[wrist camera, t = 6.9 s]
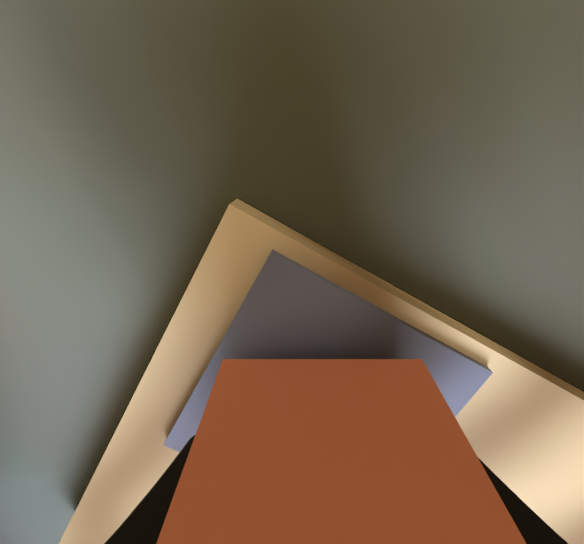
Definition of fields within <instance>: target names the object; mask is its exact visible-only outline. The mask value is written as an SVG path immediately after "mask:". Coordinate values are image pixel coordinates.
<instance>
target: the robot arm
mask: <svg viewBox="0 0 584 544" xmlns="http://www.w3.org/2000/svg"><path fill="white" fill-rule="evenodd" d="M194 438H195V435H194V436H193V437H191V438H190V439H189V441H188V442H187V443H186V445H185V446H184V447H183V449H182V450H181V451H180V453H179V454H178V455H177V456H176V458H175V459H174V460H173V462H172V463H171V464H170V466H169V467H168V468H167V469H166V471H165V472H164V473H163V475H162V476H161V477H160V478H159V480H158V481H157V482H156V483H155V485H154V486H153V487H152V488H151V490H150V491H149V492H148V493H147V494H146V496H145V497H144V498H143V499H142V500H141V502H140V503H139V504H138V505H137V506H136V508H135V509H134V510H133V511H132V513H131V514H130V515H129V516H128V517H127V519H126V520H125V521H124V522H123V523H122V524H121V526H120V527H119V528H118V529H117V530H116V531H115V532H114V533H113V534H112V536H111V537H110V538H109V539H108V540H107V541H106V542H105V543H104V544H156V543H157V541H158V538H159V535H160V532H161V529H162V527H163V524H164V521H165V518H166V516H167V513H168V510H169V507H170V504H171V502H172V499H173V496H174V493H175V490H176V488H177V485H178V482H179V479H180V477H181V474H182V471H183V468H184V465H185V463H186V460H187V457H188V454H189V452H190V449H191V446H192V443H193V440H194ZM478 459H479V458H478ZM479 461H480V462H481V464H482V466H483V468H484V469H485V471H486V473H487V475H488V476H489V478H490V480H491V482H492V484H493V485H494V487H495V489H496V491H497V492H498V494H499V496H500V498H501V500H502V501H503V503H504V505H505V507H506V508H507V510H508V512H509V514H510V515H511V517H512V519H513V521H514V523H515V524H516V526H517V528H518V530H519V531H520V533H521V535H522V537H523V538H524V540H525V542H526V544H568V543H567V542H566V541H565V540H564V539H563V538H562V537H561V536H559V535H558V534H557V533H556V532H555V531H554V530H553V529H552V528H551V527H550V526H549V525H547V524H546V523H545V522H544V521H543V520H542V519H541V518H540V517H539V516H538V515H537V514H536V513H535V512H534V511H533V510H531V509H530V508H529V507H528V506H527V505H526V504H525V503H524V502H523V501H522V500H521V499H520V498H519V497H518V496H517V495H516V494H515V493H514V492H513V491H512V490H511V489H510V488H509V487H508V486H507V485H506V484H505V483H504V482H503V481H501V480H500V479H499V478H498V477H497V476H496V475H495V474H494V473H493V472H492V471H491V470H490V469H489V468H488V467H487V466H486V465H485V464H484V463H483V462H482V461H481V460H480V459H479Z"/></svg>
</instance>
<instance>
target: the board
mask: <svg viewBox="0 0 584 544" xmlns="http://www.w3.org/2000/svg"><path fill="white" fill-rule="evenodd" d="M223 359H422V360H423V361H424V363H425V365H426V367H427V369H428V370H429V372H430V374H431V376H432V377H433V379H434V381H435V383H436V384H437V386H438V388H439V390H440V392H441V393H442V395H443V397H444V399H445V400H446V402H447V404H448V406H449V407H450V409H451V411H452V413H453V415H454V416H455V418H456V420H457V422H458V423H459V425H460V427H461V429H462V430H463V432H464V434H465V436H466V438H467V439H468V441H469V443H470V445H471V446H472V448H473V450H474V452H475V453H476V455H477V457H478V458H479V459H480V460H481V461H482V462H483V463H484V464H485V465H486V466H487V467H488V468H489V469H490V470H491V471H492V472H493V473H494V474H495V475H496V476H497V477H498V478H499V479H500V480H501V481H503V482H504V483H505V484H506V485H507V486H508V487H509V488H510V489H511V490H512V491H513V492H514V493H515V494H516V495H517V496H518V497H519V498H520V499H521V500H522V501H523V502H524V503H525V504H526V505H527V506H528V507H529V508H530V509H531V510H533V511H534V512H535V513H536V514H537V515H538V516H539V517H540V518H541V519H542V520H543V521H544V522H545V523H546V524H547V525H549V526H550V527H551V528H552V529H553V530H554V531H555V532H556V533H557V534H558V535H559V536H561V537H562V538H563V539H564V540H565V541H566V542H567V543H568V544H584V392H583V391H581V390H579V389H577V388H576V387H574V386H572V385H570V384H568V383H567V382H565V381H563V380H561V379H559V378H558V377H556V376H554V375H552V374H551V373H549V372H547V371H545V370H543V369H542V368H540V367H538V366H536V365H534V364H533V363H531V362H529V361H527V360H525V359H524V358H522V357H520V356H518V355H517V354H515V353H513V352H511V351H509V350H508V349H506V348H504V347H502V346H500V345H499V344H497V343H495V342H493V341H491V340H490V339H488V338H486V337H484V336H482V335H481V334H479V333H477V332H475V331H474V330H472V329H470V328H468V327H466V326H465V325H463V324H461V323H459V322H457V321H456V320H454V319H452V318H450V317H448V316H447V315H445V314H443V313H441V312H440V311H438V310H436V309H434V308H432V307H431V306H429V305H427V304H425V303H423V302H422V301H420V300H418V299H416V298H414V297H413V296H411V295H409V294H407V293H406V292H404V291H402V290H400V289H398V288H397V287H395V286H393V285H391V284H389V283H388V282H386V281H384V280H382V279H380V278H379V277H377V276H375V275H373V274H371V273H370V272H368V271H366V270H364V269H363V268H361V267H359V266H357V265H355V264H354V263H352V262H350V261H348V260H346V259H345V258H343V257H341V256H339V255H337V254H336V253H334V252H332V251H330V250H329V249H327V248H325V247H323V246H321V245H320V244H318V243H316V242H314V241H312V240H311V239H309V238H307V237H305V236H303V235H302V234H300V233H298V232H296V231H294V230H293V229H291V228H289V227H287V226H286V225H284V224H282V223H280V222H278V221H277V220H275V219H273V218H271V217H269V216H268V215H266V214H264V213H262V212H260V211H259V210H257V209H255V208H253V207H252V206H250V205H248V204H246V203H244V202H243V201H241V200H239V199H236V200H234V201H233V202H231V203H230V204H229V206H228V208H227V210H226V212H225V214H224V216H223V218H222V220H221V222H220V224H219V226H218V228H217V230H216V232H215V234H214V236H213V238H212V240H211V242H210V244H209V246H208V248H207V250H206V252H205V254H204V256H203V258H202V260H201V262H200V263H199V265H198V267H197V269H196V271H195V273H194V275H193V277H192V279H191V281H190V283H189V285H188V287H187V289H186V291H185V293H184V295H183V297H182V299H181V301H180V303H179V305H178V307H177V309H176V311H175V313H174V315H173V317H172V319H171V321H170V323H169V325H168V327H167V329H166V331H165V333H164V335H163V337H162V339H161V341H160V343H159V345H158V347H157V349H156V351H155V353H154V355H153V357H152V359H151V361H150V363H149V365H148V367H147V369H146V371H145V373H144V375H143V377H142V379H141V381H140V383H139V385H138V387H137V389H136V391H135V393H134V395H133V397H132V399H131V401H130V403H129V405H128V407H127V409H126V411H125V413H124V415H123V417H122V419H121V421H120V423H119V425H118V427H117V429H116V431H115V433H114V435H113V437H112V439H111V441H110V443H109V445H108V447H107V449H106V451H105V453H104V455H103V457H102V459H101V461H100V463H99V465H98V467H97V469H96V471H95V473H94V475H93V477H92V479H91V481H90V483H89V485H88V487H87V489H86V491H85V493H84V495H83V497H82V499H81V501H80V503H79V505H78V507H77V509H76V511H75V513H74V515H73V517H72V519H71V521H70V523H69V525H68V527H67V529H66V531H65V533H64V535H63V537H62V539H61V540H60V542H59V544H104V543H105V542H106V541H107V540H108V539H109V538H110V537H111V536H112V534H113V533H114V532H115V531H116V530H117V529H118V528H119V527H120V526H121V524H122V523H123V522H124V521H125V520H126V519H127V517H128V516H129V515H130V514H131V513H132V511H133V510H134V509H135V508H136V506H137V505H138V504H139V503H140V502H141V500H142V499H143V498H144V497H145V496H146V494H147V493H148V492H149V491H150V490H151V488H152V487H153V486H154V485H155V483H156V482H157V481H158V480H159V478H160V477H161V476H162V475H163V473H164V472H165V471H166V469H167V468H168V467H169V466H170V464H171V463H172V462H173V460H174V459H175V458H176V456H177V455H178V454H179V453H180V451H181V450H182V449H183V447H184V446H185V445H186V443H187V442H188V441H189V439H190V438H191V437H193V436H194V435H196V432H197V429H198V427H199V424H200V421H201V418H202V415H203V413H204V410H205V407H206V404H207V401H208V399H209V396H210V393H211V390H212V388H213V385H214V382H215V379H216V376H217V374H218V371H219V368H220V365H221V363H222V360H223Z"/></svg>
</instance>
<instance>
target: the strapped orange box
mask: <svg viewBox="0 0 584 544" xmlns="http://www.w3.org/2000/svg"><path fill="white" fill-rule="evenodd" d="M156 544H526V542H525V540H524V538H523V537H522V535H521V533H520V531H519V530H518V528H517V526H516V524H515V523H514V521H513V519H512V517H511V515H510V514H509V512H508V510H507V508H506V507H505V505H504V503H503V501H502V500H501V498H500V496H499V494H498V492H497V491H496V489H495V487H494V485H493V484H492V482H491V480H490V478H489V476H488V475H487V473H486V471H485V469H484V468H483V466H482V464H481V462H480V461H479V459H478V457H477V455H476V453H475V452H474V450H473V448H472V446H471V445H470V443H469V441H468V439H467V438H466V436H465V434H464V432H463V430H462V429H461V427H460V425H459V423H458V422H457V420H456V418H455V416H454V415H453V413H452V411H451V409H450V407H449V406H448V404H447V402H446V400H445V399H444V397H443V395H442V393H441V392H440V390H439V388H438V386H437V384H436V383H435V381H434V379H433V377H432V376H431V374H430V372H429V370H428V369H427V367H426V365H425V363H424V361H423V360H422V359H223V360H222V363H221V365H220V368H219V371H218V374H217V376H216V379H215V382H214V385H213V388H212V390H211V393H210V396H209V399H208V401H207V404H206V407H205V410H204V413H203V415H202V418H201V421H200V424H199V427H198V429H197V432H196V435H195V438H194V440H193V443H192V446H191V449H190V452H189V454H188V457H187V460H186V463H185V465H184V468H183V471H182V474H181V477H180V479H179V482H178V485H177V488H176V490H175V493H174V496H173V499H172V502H171V504H170V507H169V510H168V513H167V516H166V518H165V521H164V524H163V527H162V529H161V532H160V535H159V538H158V541H157V543H156Z"/></svg>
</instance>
